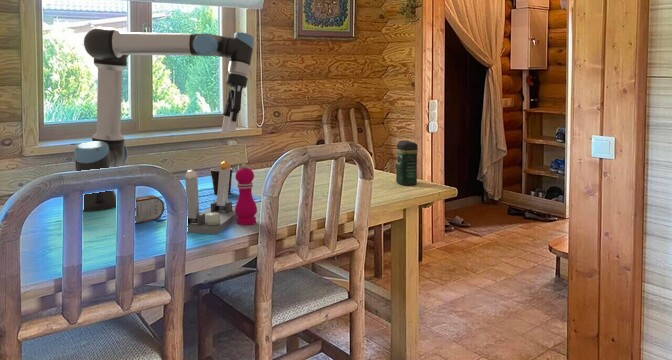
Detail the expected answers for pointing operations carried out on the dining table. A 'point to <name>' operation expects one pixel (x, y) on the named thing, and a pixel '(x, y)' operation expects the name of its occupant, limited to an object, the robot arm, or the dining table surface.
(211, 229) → the switch panel
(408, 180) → the coffee jar
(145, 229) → the dining table surface
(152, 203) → the tin
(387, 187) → the dining table surface
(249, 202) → the pepper mill
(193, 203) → the toggle lever ivory
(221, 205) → the toggle lever orange
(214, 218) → the push button
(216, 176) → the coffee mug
